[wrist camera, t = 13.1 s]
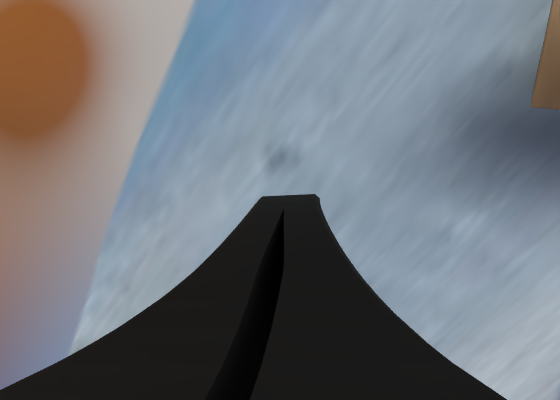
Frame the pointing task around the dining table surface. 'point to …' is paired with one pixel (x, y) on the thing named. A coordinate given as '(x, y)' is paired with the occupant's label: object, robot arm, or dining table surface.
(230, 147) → the dining table surface
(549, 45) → the domino
